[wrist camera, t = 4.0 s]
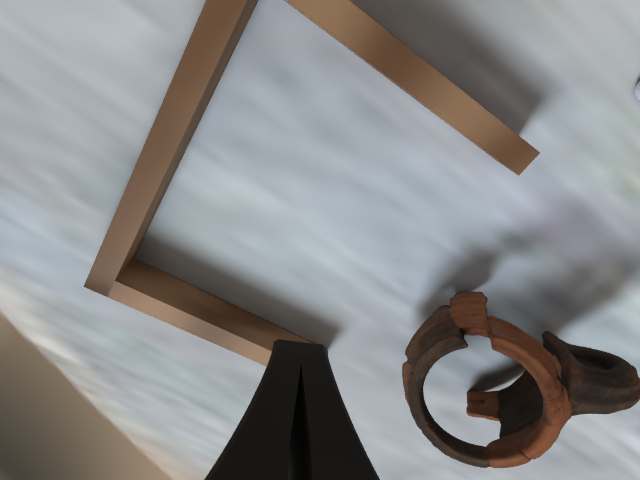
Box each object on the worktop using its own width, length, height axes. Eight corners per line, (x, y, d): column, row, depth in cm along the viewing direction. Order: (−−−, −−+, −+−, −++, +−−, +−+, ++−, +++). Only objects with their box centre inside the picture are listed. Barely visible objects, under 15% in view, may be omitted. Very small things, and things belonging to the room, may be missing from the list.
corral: (515, 140, 18) (540, 152, 16) (317, 361, 25) (317, 388, 23) (252, -68, 14) (243, -85, 12) (105, 263, 21) (83, 286, 19)
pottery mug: (430, 407, 28) (414, 489, 20) (400, 287, 28) (372, 324, 20) (624, 400, 23) (698, 503, 16) (590, 255, 23) (648, 287, 15)
